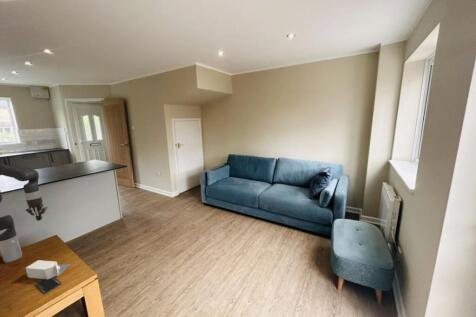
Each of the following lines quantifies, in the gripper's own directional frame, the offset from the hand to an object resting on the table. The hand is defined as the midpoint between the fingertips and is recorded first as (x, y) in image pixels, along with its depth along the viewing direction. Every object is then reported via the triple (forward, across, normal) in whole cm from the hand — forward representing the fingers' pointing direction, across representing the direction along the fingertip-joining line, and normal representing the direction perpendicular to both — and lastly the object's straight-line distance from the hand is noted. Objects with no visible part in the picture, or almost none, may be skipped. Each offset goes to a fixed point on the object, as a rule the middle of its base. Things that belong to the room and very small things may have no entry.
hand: (39, 220), depth 141 cm
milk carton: (+25, +7, -19) cm, 32 cm away
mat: (+29, +17, -18) cm, 38 cm away
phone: (+30, +24, -30) cm, 49 cm away
